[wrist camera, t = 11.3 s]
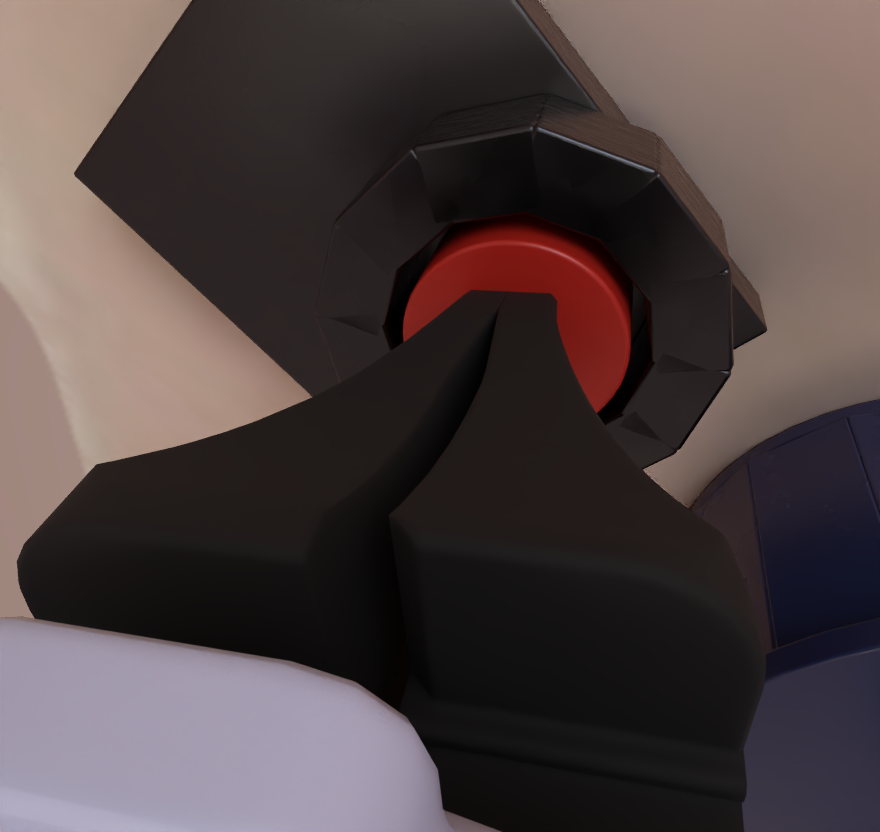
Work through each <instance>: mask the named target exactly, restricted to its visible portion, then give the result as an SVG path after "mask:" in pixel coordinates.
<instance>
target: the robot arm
mask: <svg viewBox="0 0 880 832" xmlns="http://www.w3.org/2000/svg"><path fill="white" fill-rule="evenodd" d="M557 302H558V301H557V300H556V299H555V298H554V296H553V295H552V294H551V293H534V292H511V291H489V290H470V291H469V292H467V293H466V294H464V295H463V296H462V297H461V298H459V299H458V300H457V301H456V302H454V303H453V304H452V305H451V306H449V307H448V308H447V309H446V310H444V311H443V312H442V313H441V314H439V315H438V316H437V317H436V318H434V319H433V320H432V321H431V322H429V323H428V324H427V325H425V326H424V327H423V328H422V329H420V330H419V331H418V332H416V333H415V334H414V335H413V336H411V337H410V338H409V339H407V340H406V341H404V342H403V343H402V344H400V345H399V346H397V347H396V348H394V349H393V350H391V351H390V352H388V353H387V354H385V355H384V356H382V357H381V358H379V359H378V360H377V361H375V362H374V363H372V364H371V365H369V366H368V367H366V368H365V369H363V370H361V371H360V372H358V373H356V374H355V375H353V376H351V377H349V378H348V379H346V380H344V381H343V382H341V383H339V384H337V385H335V386H333V387H331V388H329V389H327V390H325V391H324V392H322V393H320V394H318V395H316V396H314V397H312V398H310V399H307V400H305V401H303V402H301V403H298V404H296V405H293V406H291V407H289V408H286V409H284V410H282V411H279V412H277V413H275V414H272V415H270V416H267V417H265V418H263V419H260V420H258V421H255V422H253V423H250V424H247V425H244V426H241V427H238V428H235V429H233V430H230V431H227V432H224V433H221V434H217V435H214V436H211V437H207V438H204V439H201V440H198V441H194V442H191V443H187V444H184V445H180V446H176V447H173V448H168V449H164V450H160V451H155V452H151V453H147V454H142V455H138V456H133V457H129V458H125V459H120V460H116V461H111V462H106V463H101V464H97V465H95V467H94V468H93V469H92V470H91V471H90V472H89V473H88V474H87V475H86V476H85V477H84V479H83V480H82V481H81V482H80V483H79V484H78V485H77V486H76V487H75V488H74V490H73V491H72V492H71V493H70V494H69V495H68V496H67V497H66V498H65V500H64V501H63V502H62V503H61V504H60V505H59V506H58V507H57V508H56V509H55V511H54V512H53V513H52V514H51V515H50V516H49V517H48V518H47V519H46V520H45V521H44V523H43V524H42V525H41V526H40V527H39V528H38V529H37V530H36V531H35V533H34V534H33V535H32V536H31V537H30V538H29V539H28V540H27V541H26V542H25V544H24V546H23V548H22V550H21V553H20V555H19V558H18V560H17V568H18V580H19V585H20V589H21V592H22V594H23V596H24V598H25V601H26V603H27V605H28V607H29V609H30V611H31V613H32V614H33V616H34V618H35V619H33V618H27V617H5V618H0V832H744V823H743V812H742V802H743V803H744V801H745V798H746V794H747V779H746V769H745V759H744V746H745V743H746V740H747V737H748V734H749V731H750V728H751V725H752V722H753V719H754V716H755V713H756V710H757V707H758V704H759V701H760V698H761V695H762V692H763V689H764V683H765V672H766V656H765V649H764V643H763V638H762V634H761V630H760V627H759V623H758V619H757V616H756V613H755V609H754V606H753V603H752V600H751V597H750V594H749V591H748V588H747V586H746V583H745V580H744V578H743V575H742V572H741V570H740V568H739V565H738V563H737V561H736V558H735V556H734V553H733V551H732V549H731V547H730V544H729V542H728V540H727V538H726V537H725V536H724V535H723V533H722V532H720V531H719V530H717V529H716V528H715V527H713V526H712V525H710V524H709V523H708V522H706V521H705V520H703V519H702V518H701V517H699V516H698V515H696V514H695V513H694V512H692V511H691V510H689V509H688V508H687V507H685V506H684V505H682V504H681V503H680V502H678V501H677V500H675V499H674V498H673V497H672V496H670V495H669V494H668V493H667V492H666V491H664V490H663V489H662V488H661V487H660V486H659V485H658V484H657V483H655V482H654V481H653V480H652V479H651V478H650V477H649V476H648V475H647V474H646V473H645V472H644V471H643V470H642V469H641V468H640V466H639V465H638V464H637V463H636V462H635V461H634V460H633V459H632V458H631V457H630V456H629V455H628V454H627V453H626V451H625V450H624V449H623V448H622V447H621V446H620V445H619V443H618V442H617V441H616V439H615V438H614V437H613V435H612V434H611V433H610V431H609V430H608V429H607V428H606V426H605V425H604V423H603V422H602V420H601V419H600V417H599V416H598V414H597V413H596V411H595V410H594V408H593V407H592V405H591V403H590V402H589V400H588V398H587V396H586V395H585V393H584V391H583V389H582V387H581V385H580V383H579V381H578V379H577V377H576V375H575V373H574V371H573V368H572V366H571V364H570V361H569V359H568V356H567V353H566V351H565V348H564V345H563V343H562V339H561V336H560V332H559V328H558V324H557Z"/></svg>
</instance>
